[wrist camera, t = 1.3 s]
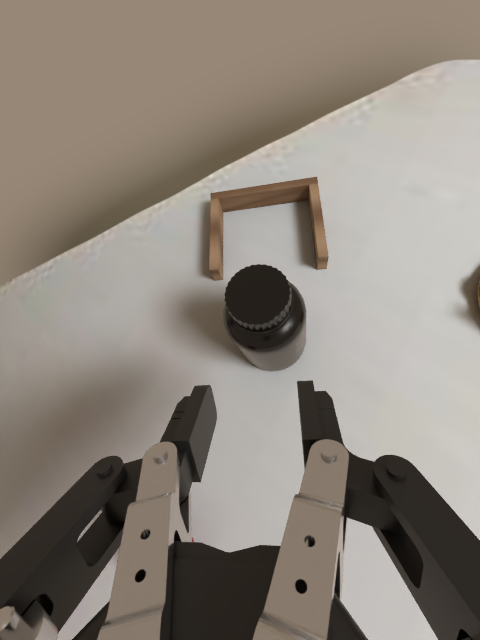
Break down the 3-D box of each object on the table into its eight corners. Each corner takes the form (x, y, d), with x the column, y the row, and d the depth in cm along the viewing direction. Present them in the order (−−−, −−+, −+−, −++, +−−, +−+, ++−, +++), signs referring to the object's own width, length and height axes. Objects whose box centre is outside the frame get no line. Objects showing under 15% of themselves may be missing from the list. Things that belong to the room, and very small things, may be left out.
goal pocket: (326, 268, 34) (328, 256, 31) (214, 280, 36) (209, 270, 34) (315, 192, 38) (316, 176, 35) (215, 207, 40) (210, 193, 37)
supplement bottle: (276, 299, 34) (265, 234, 22) (319, 343, 31) (330, 294, 20) (228, 337, 33) (193, 290, 22) (268, 386, 30) (250, 360, 19)
